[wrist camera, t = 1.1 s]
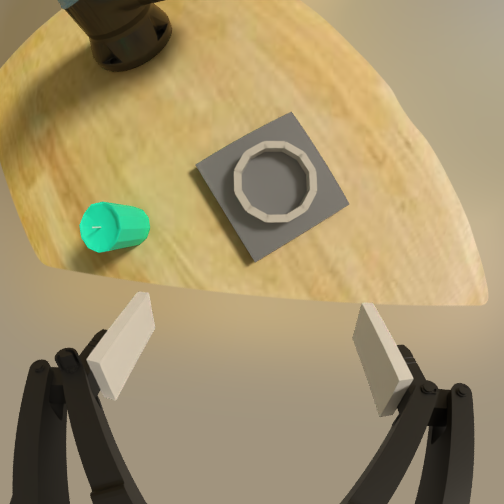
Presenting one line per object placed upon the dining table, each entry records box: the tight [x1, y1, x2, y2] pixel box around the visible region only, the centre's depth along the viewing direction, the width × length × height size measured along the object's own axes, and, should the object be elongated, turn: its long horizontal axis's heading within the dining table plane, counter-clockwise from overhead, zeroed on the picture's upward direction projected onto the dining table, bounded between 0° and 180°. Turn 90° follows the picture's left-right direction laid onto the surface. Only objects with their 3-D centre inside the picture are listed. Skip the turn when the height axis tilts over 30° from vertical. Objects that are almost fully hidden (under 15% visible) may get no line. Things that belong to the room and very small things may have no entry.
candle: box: [79, 202, 150, 253], centre depth 33 cm, size 6×6×12 cm
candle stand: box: [196, 112, 349, 262], centre depth 37 cm, size 16×16×4 cm
